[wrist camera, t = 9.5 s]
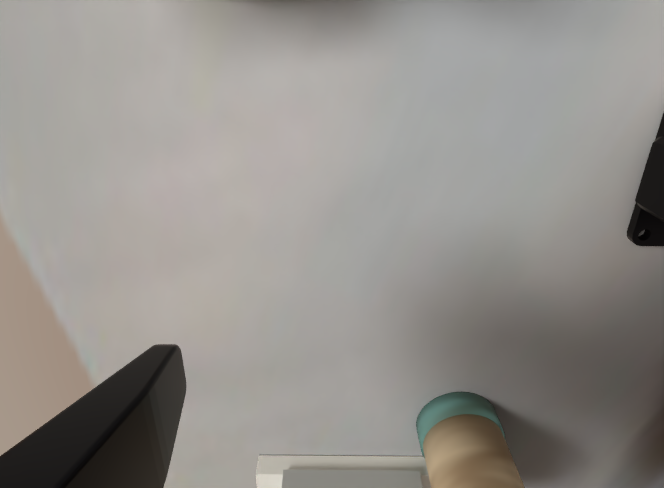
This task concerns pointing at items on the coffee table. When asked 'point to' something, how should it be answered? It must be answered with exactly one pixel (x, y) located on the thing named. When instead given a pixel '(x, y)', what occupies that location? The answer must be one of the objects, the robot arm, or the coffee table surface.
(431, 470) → the tan domed cylinder
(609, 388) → the coffee table surface
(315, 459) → the socket board
